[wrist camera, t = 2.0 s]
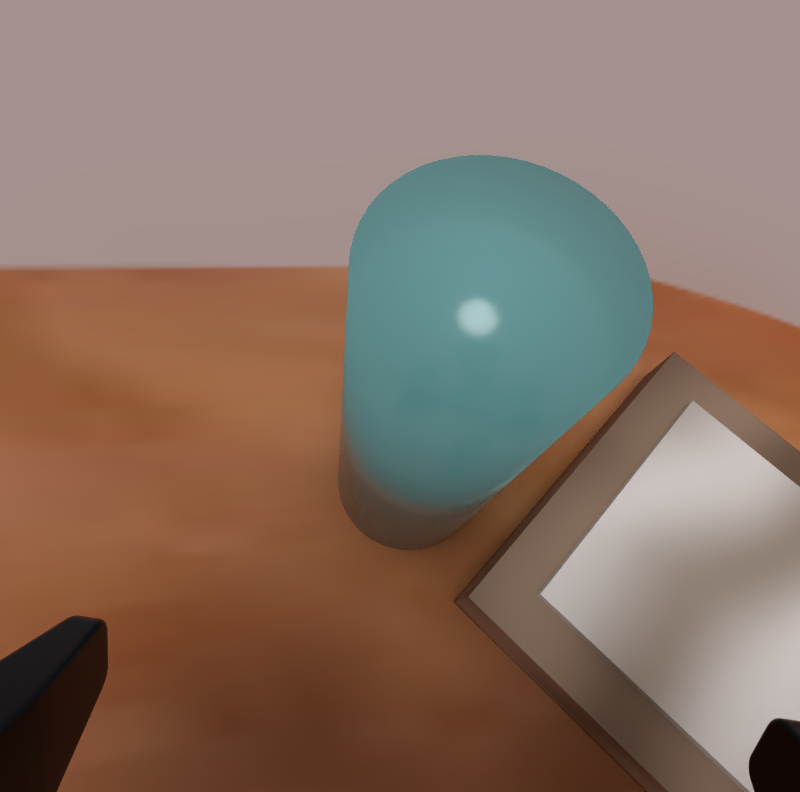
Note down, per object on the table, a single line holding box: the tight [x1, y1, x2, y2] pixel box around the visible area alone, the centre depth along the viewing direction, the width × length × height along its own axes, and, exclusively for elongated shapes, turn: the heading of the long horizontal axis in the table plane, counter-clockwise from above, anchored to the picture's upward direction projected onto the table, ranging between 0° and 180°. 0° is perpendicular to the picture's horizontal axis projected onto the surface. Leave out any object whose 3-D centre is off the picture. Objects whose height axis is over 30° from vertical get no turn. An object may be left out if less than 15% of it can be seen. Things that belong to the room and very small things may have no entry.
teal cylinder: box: [338, 155, 653, 550], centre depth 16 cm, size 5×5×13 cm
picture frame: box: [454, 352, 800, 792], centre depth 20 cm, size 12×12×3 cm
